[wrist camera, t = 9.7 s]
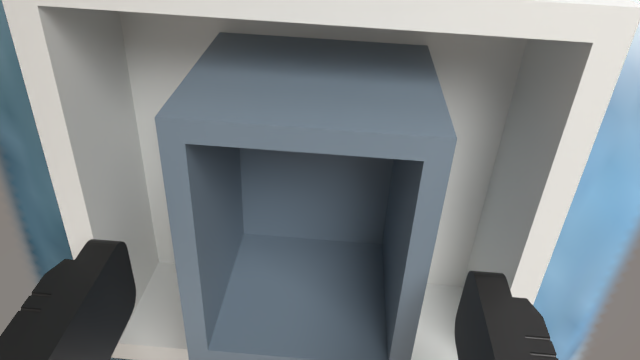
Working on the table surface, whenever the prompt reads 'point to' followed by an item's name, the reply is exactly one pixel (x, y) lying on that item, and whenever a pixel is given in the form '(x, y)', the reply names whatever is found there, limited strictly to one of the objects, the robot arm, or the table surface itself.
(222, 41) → the slate crate
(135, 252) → the white crate
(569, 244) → the table surface
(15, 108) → the table surface
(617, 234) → the table surface
